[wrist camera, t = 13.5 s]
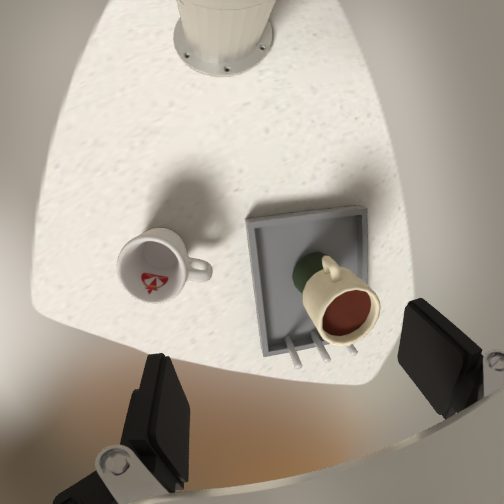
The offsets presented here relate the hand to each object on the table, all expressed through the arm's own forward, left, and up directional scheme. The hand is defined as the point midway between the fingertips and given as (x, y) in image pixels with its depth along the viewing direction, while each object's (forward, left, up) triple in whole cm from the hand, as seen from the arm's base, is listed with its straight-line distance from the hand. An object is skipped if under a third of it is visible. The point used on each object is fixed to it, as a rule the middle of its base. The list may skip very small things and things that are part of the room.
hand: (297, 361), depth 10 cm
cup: (+3, -9, -29) cm, 31 cm away
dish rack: (+10, +9, -29) cm, 32 cm away
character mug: (+9, +9, -28) cm, 31 cm away
